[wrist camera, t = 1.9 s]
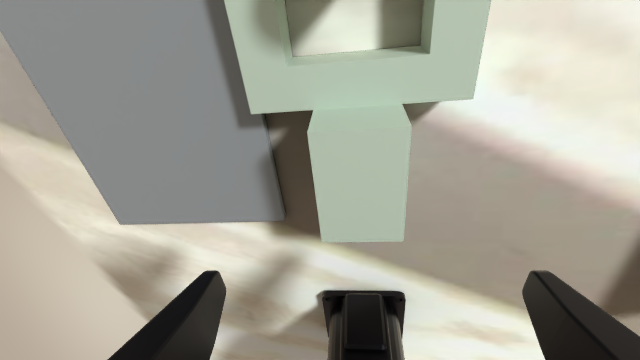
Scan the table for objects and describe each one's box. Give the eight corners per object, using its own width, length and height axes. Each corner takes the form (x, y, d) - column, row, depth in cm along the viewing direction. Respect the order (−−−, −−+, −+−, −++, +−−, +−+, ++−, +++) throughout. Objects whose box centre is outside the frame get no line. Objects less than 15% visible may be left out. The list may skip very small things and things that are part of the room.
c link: (443, 186, 18) (468, 240, 14) (280, 192, 19) (264, 243, 15) (509, -242, 9) (618, -396, 5) (202, -181, 10) (119, -272, 7)
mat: (285, 216, 20) (284, 221, 20) (124, 219, 22) (119, 224, 21) (181, -277, 9) (174, -288, 9) (-129, -201, 11) (-147, -208, 10)
